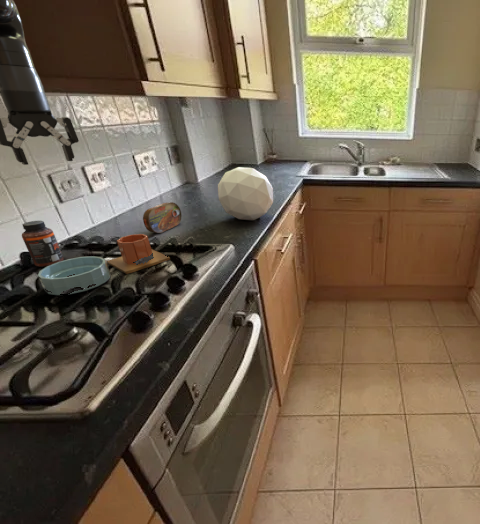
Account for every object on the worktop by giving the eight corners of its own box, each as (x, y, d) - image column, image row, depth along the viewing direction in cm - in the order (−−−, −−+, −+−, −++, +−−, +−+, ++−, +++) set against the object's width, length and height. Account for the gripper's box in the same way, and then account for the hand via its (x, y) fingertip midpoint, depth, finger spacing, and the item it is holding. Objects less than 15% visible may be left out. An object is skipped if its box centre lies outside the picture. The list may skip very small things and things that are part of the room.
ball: (263, 236, 128) (274, 203, 113) (208, 221, 121) (212, 183, 107) (272, 202, 139) (283, 167, 124) (222, 186, 132) (227, 147, 118)
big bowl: (57, 302, 71) (49, 284, 69) (38, 286, 77) (30, 269, 75) (119, 281, 80) (114, 264, 78) (98, 268, 86) (93, 252, 84)
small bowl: (131, 266, 86) (124, 244, 83) (120, 260, 89) (113, 239, 87) (157, 257, 91) (151, 237, 88) (145, 252, 94) (139, 232, 91)
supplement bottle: (66, 262, 89) (50, 222, 84) (36, 269, 85) (17, 228, 80) (62, 256, 92) (46, 217, 88) (33, 263, 88) (15, 222, 84)
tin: (154, 236, 107) (146, 211, 104) (145, 236, 108) (138, 211, 104) (184, 222, 121) (179, 199, 117) (176, 221, 121) (171, 199, 118)
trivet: (126, 274, 83) (125, 271, 83) (107, 263, 89) (106, 260, 89) (170, 259, 92) (169, 257, 91) (150, 250, 97) (149, 248, 97)
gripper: (56, 91, 83) (77, 158, 90) (-28, 87, 72) (4, 163, 79) (67, 91, 79) (88, 161, 86) (-20, 86, 68) (13, 167, 75)
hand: (48, 162), depth 82 cm, fingers open, 8 cm apart
